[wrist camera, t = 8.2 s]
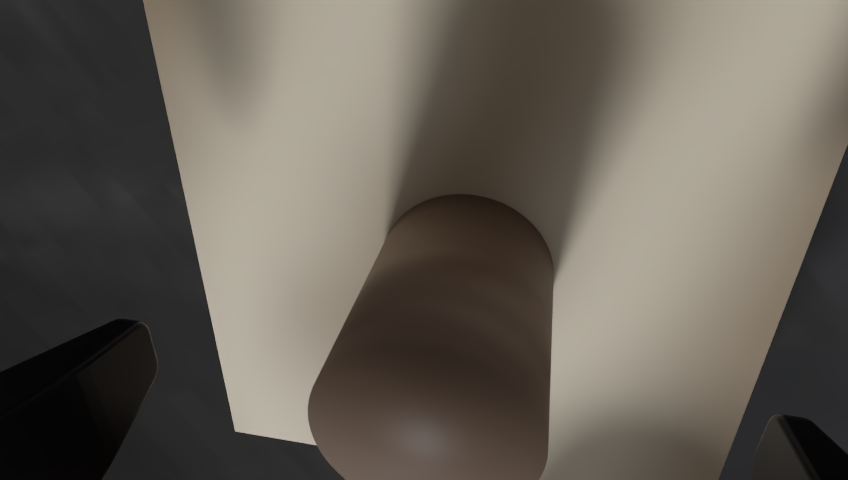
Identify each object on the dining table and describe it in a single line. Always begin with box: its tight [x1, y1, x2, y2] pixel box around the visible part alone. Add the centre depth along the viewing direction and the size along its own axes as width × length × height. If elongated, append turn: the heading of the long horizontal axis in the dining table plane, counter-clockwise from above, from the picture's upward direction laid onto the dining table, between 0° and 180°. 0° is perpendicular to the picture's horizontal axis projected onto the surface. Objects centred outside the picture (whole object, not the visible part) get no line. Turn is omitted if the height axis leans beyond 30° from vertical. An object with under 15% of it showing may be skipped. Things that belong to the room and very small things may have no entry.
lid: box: [143, 0, 848, 480], centre depth 10 cm, size 11×11×5 cm
